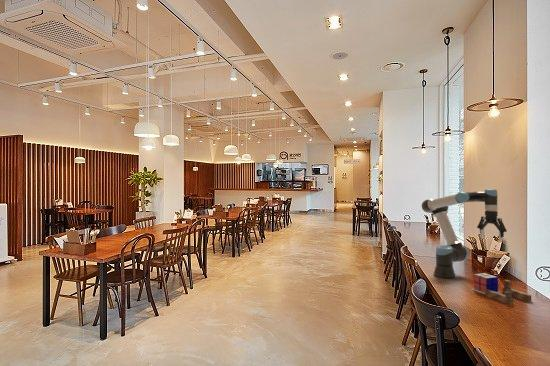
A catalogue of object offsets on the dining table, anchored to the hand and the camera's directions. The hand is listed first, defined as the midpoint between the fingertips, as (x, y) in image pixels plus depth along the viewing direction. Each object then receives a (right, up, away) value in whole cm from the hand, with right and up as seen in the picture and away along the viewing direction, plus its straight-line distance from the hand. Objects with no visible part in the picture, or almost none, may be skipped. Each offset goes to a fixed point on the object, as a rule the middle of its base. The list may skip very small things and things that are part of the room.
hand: (491, 240), depth 220 cm
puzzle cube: (-13, -32, -12) cm, 37 cm away
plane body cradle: (-8, -33, -25) cm, 42 cm away
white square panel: (-13, -33, -12) cm, 37 cm away
